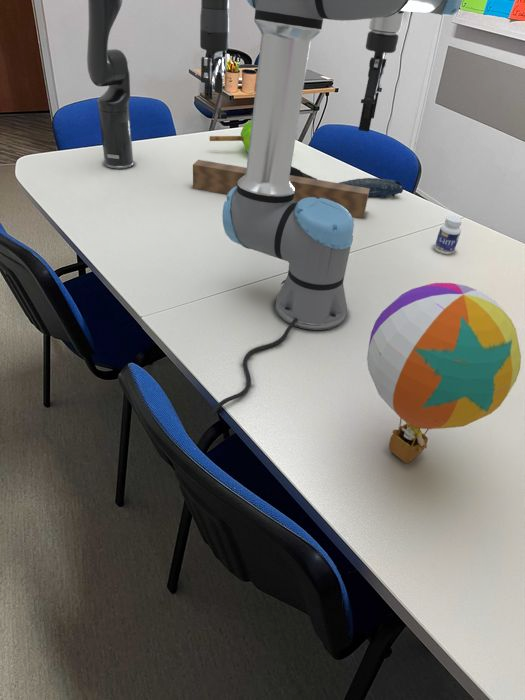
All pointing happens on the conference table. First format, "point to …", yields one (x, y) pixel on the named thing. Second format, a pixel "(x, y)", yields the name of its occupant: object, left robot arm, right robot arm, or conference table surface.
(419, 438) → the toy
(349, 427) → the conference table surface
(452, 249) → the pill bottle
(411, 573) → the conference table surface
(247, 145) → the decorative tree
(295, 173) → the handheld gaming console
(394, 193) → the fish model
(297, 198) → the post
